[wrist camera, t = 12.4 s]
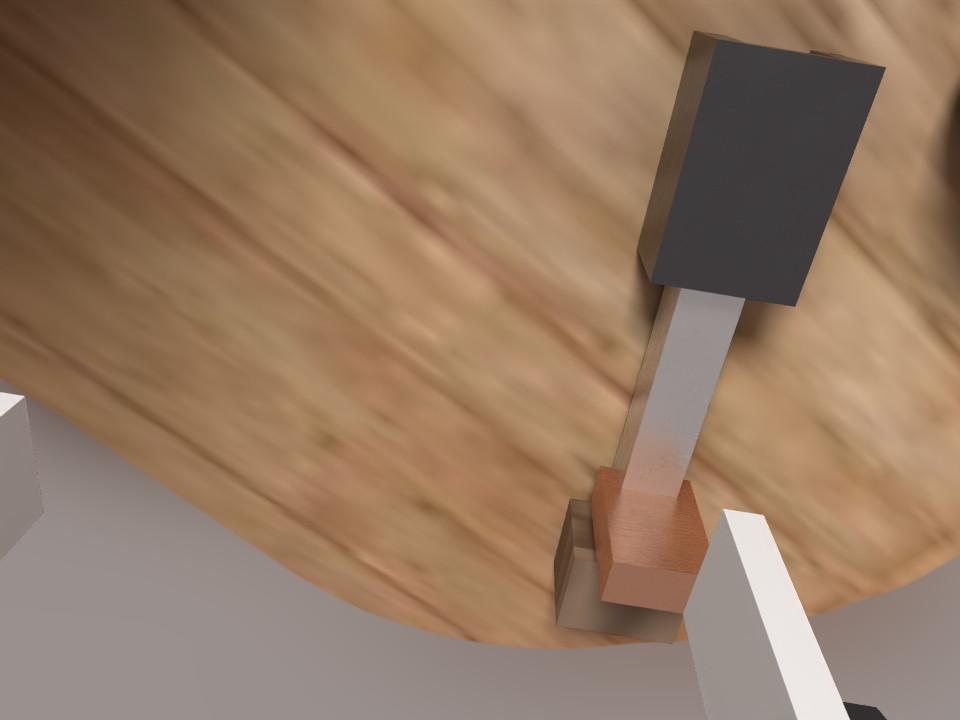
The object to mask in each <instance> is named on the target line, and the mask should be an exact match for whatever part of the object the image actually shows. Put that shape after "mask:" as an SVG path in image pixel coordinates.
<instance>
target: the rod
mask: <svg viewBox="0 0 960 720" xmlns="http://www.w3.org/2000/svg"><path fill="white" fill-rule="evenodd" d="M744 302H745V298H739V297H733V296H727V295H721V294H715V293H709V292H702V291H696V290H690V289H684V288H678V287H672V286H666V285H665V287H664V291H663V294H662V298H661V301H660V305H659V308H658V312H657V315H656V319H655V322H654V325H653V329H652V332H651V336H650V339H649V343H648V346H647V350H646V353H645V357H644V360H643V364H642V367H641V371H640V374H639V378H638V381H637V385H636V388H635V392H634V395H633V399H632V402H631V406H630V409H629V413H628V416H627V420H626V423H625V427H624V430H623V434H622V437H621V441H620V444H619V448H618V451H617V455H616V458H615V462H614V465H613V468H608V467H602V466H600V470H599V473H598V477H597V480H596V484H595V488H594V491H593V495H592V498H591V511H592V520H593V529H594V539H595V548H596V558H597V567H598V577H599V586H600V595H601V601H606V602H613V603H619V604H625V605H632V606H638V607H644V608H650V609H657V610H663V611H669V612H675V613H682V614H683V612H684V610H685V607H686V605H687V602H688V599H689V597H690V594H691V592H692V589H693V586H694V584H695V581H696V579H697V576H698V573H699V571H700V568H701V566H702V563H703V560H704V558H705V555H706V553H707V550H708V547H709V543H708V540H707V536H706V533H705V530H704V526H703V523H702V520H701V517H700V513H699V510H698V507H697V503H696V500H695V497H694V494H693V490H692V487H691V484H690V481H688V480H683V479H684V476H685V473H686V470H687V468H688V465H689V462H690V459H691V456H692V453H693V450H694V447H695V444H696V441H697V439H698V436H699V433H700V430H701V427H702V424H703V421H704V418H705V415H706V412H707V409H708V407H709V404H710V401H711V398H712V395H713V392H714V389H715V386H716V383H717V380H718V378H719V375H720V372H721V369H722V366H723V363H724V360H725V357H726V354H727V351H728V349H729V346H730V343H731V340H732V337H733V334H734V331H735V328H736V325H737V322H738V320H739V317H740V314H741V311H742V308H743V305H744Z"/></svg>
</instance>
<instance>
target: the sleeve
mask: <svg viewBox="0 0 960 720" xmlns="http://www.w3.org/2000/svg"><path fill="white" fill-rule="evenodd" d="M885 69H886V67H882V66H879V65H875V64H871V63H868V62H864V61H860V60H856V59H853V58H849V57H845V56H842V55H836V54H830V53H824V52H818V51H812V50H811V52H810V54H808V53H802V52H797V51H791V50H785V49H779V48H773V47H767V46H761V45H755V44H749V43H745V42H742V41H739V40H736V39H733V38H730V37H727V36H723V35H717V34H711V33H705V32H700V31H694V32H693V36H692V40H691V43H690V47H689V51H688V55H687V59H686V63H685V66H684V70H683V74H682V78H681V82H680V86H679V89H678V93H677V97H676V101H675V105H674V109H673V112H672V116H671V120H670V124H669V128H668V132H667V135H666V139H665V143H664V147H663V151H662V155H661V158H660V162H659V166H658V170H657V174H656V178H655V181H654V185H653V189H652V193H651V197H650V201H649V204H648V208H647V212H646V216H645V220H644V224H643V227H642V231H641V235H640V239H639V243H638V247H637V249H638V252H639V255H640V257H641V260H642V263H643V265H644V268H645V271H646V273H647V276H648V279H649V281H650V283H654V284H660V285H666V286H672V287H678V288H684V289H690V290H696V291H702V292H709V293H715V294H721V295H727V296H733V297H739V298H745V299H751V300H757V301H763V302H769V303H775V304H781V305H788V306H794V307H795V305H796V303H797V300H798V298H799V295H800V292H801V290H802V287H803V284H804V282H805V279H806V277H807V274H808V271H809V269H810V266H811V263H812V261H813V258H814V256H815V253H816V250H817V248H818V245H819V242H820V240H821V237H822V235H823V232H824V229H825V227H826V224H827V221H828V219H829V216H830V214H831V211H832V208H833V206H834V203H835V200H836V198H837V195H838V192H839V190H840V187H841V185H842V182H843V179H844V177H845V174H846V171H847V169H848V166H849V164H850V161H851V158H852V156H853V153H854V150H855V148H856V145H857V143H858V140H859V137H860V135H861V132H862V129H863V127H864V124H865V122H866V119H867V116H868V114H869V111H870V108H871V106H872V103H873V101H874V98H875V95H876V93H877V90H878V87H879V85H880V82H881V80H882V77H883V74H884V72H885Z"/></svg>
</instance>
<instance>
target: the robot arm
mask: <svg viewBox="0 0 960 720" xmlns="http://www.w3.org/2000/svg"><path fill="white" fill-rule="evenodd" d="M43 512H44V511H43V505H42V498H41V492H40V486H39V479H38V473H37V467H36V461H35V455H34V449H33V443H32V436H31V430H30V424H29V418H28V412H27V405H26V399H25V396H20V395H14V394H8V393H2V392H0V560H1V559H2V558H3V557H4V555H5V554H6V553H7V552H8V551H9V550H10V549H11V548H12V547H13V546H14V544H15V543H16V542H17V541H18V540H19V539H20V538H21V537H22V536H23V534H24V533H25V532H26V531H27V530H28V529H29V528H30V527H31V526H32V525H33V524H34V522H35V521H36V520H37V519H38V518H39V517H40V516H41V515H42V514H43ZM683 617H684V621H685V626H686V630H687V634H688V639H689V643H690V647H691V652H692V656H693V660H694V665H695V669H696V673H697V677H698V682H699V686H700V690H701V695H702V699H703V704H704V708H705V712H706V717H707V720H887V719H886V718H885V717H884V716H883V715H882V713H881V712H880V711H879V710H878V709H877V708H876V707H871V706H865V705H859V704H852V703H846V702H842V700H841V698H840V695H839V693H838V690H837V688H836V686H835V683H834V681H833V679H832V676H831V674H830V671H829V669H828V667H827V665H826V662H825V660H824V658H823V655H822V652H821V650H820V648H819V646H818V643H817V641H816V638H815V636H814V634H813V631H812V629H811V626H810V624H809V622H808V619H807V617H806V615H805V612H804V610H803V607H802V605H801V603H800V600H799V598H798V596H797V593H796V591H795V589H794V586H793V584H792V581H791V579H790V577H789V574H788V572H787V570H786V567H785V565H784V562H783V560H782V558H781V555H780V553H779V551H778V548H777V546H776V544H775V541H774V539H773V536H772V534H771V532H770V529H769V527H768V525H767V522H766V520H765V517H764V515H758V514H752V513H746V512H739V511H733V510H727V509H723V511H722V514H721V516H720V519H719V521H718V524H717V527H716V529H715V532H714V534H713V537H712V540H711V542H710V545H709V547H708V550H707V553H706V555H705V558H704V560H703V563H702V566H701V568H700V571H699V573H698V576H697V579H696V581H695V584H694V586H693V589H692V592H691V594H690V597H689V599H688V602H687V605H686V607H685V610H684V612H683Z"/></svg>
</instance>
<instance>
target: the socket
mask: <svg viewBox="0 0 960 720" xmlns="http://www.w3.org/2000/svg"><path fill="white" fill-rule="evenodd" d="M554 577H555V608H556V626H562V627H568V628H575V629H581V630H587V631H593V632H600V633H606V634H612V635H619V636H625V637H631V638H637V639H644V640H650V641H656V642H663V643H669V644H672V643H673V641H674V638H675V636H676V633H677V630H678V628H679V625H680V623H681V620H682V617H683V614H682V613H675V612H669V611H663V610H657V609H650V608H644V607H638V606H632V605H625V604H619V603H613V602H606V601H601V595H600V586H599V577H598V567H597V558H596V548H595V539H594V529H593V520H592V511H591V502H587V501H581V500H575V499H570V502H569V506H568V509H567V513H566V517H565V521H564V525H563V529H562V532H561V536H560V540H559V544H558V548H557V552H556V556H555V559H554Z"/></svg>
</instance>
